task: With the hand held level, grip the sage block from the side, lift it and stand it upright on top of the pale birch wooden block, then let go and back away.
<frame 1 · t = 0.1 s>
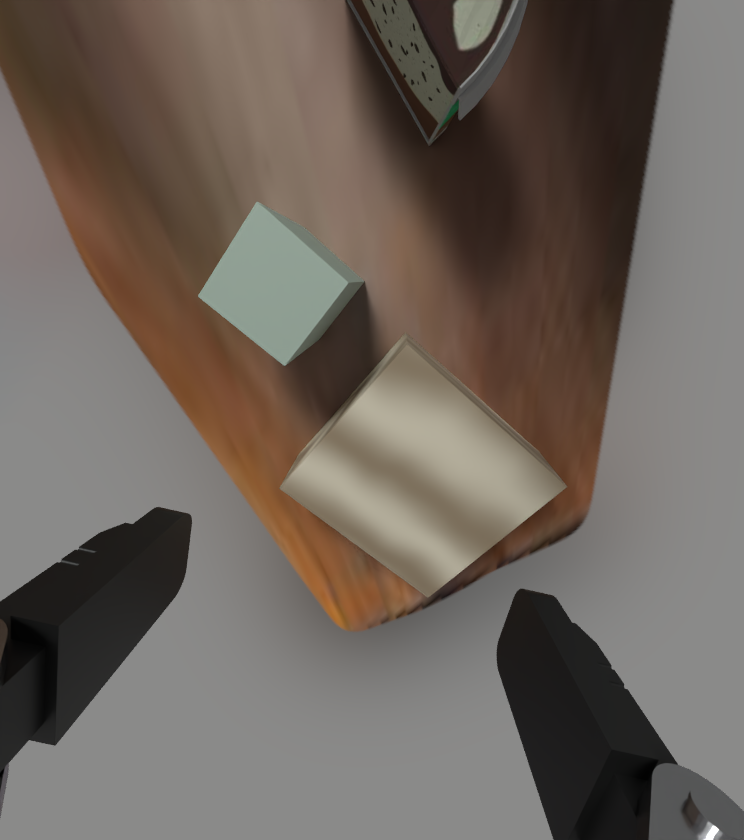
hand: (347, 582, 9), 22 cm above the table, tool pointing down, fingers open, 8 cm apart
sage block: (311, 286, 28), on the table
birch block: (415, 451, 33), on the table
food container: (430, 37, 23), on the table
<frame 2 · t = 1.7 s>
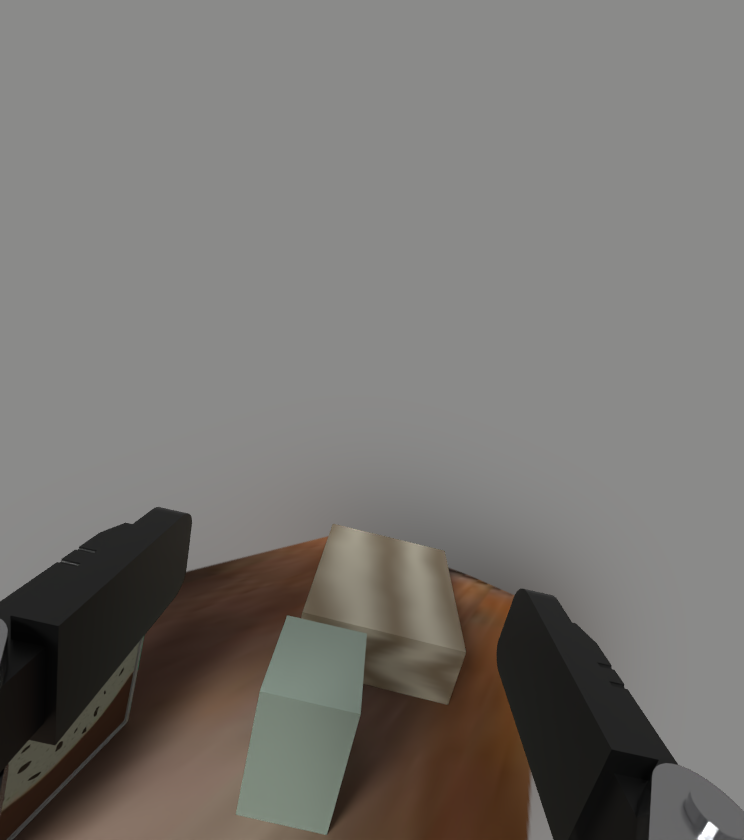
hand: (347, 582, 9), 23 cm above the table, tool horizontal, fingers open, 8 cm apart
sage block: (293, 771, 25), on the table
birch block: (373, 623, 40), on the table
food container: (16, 772, 22), on the table
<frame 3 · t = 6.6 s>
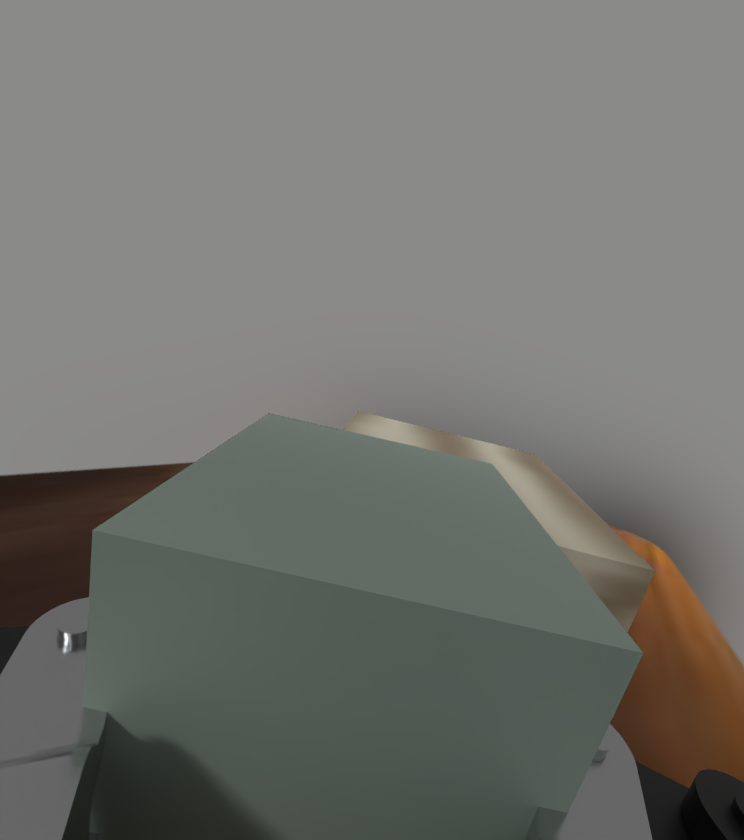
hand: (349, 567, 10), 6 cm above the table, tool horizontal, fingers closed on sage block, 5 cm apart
birch block: (428, 552, 23), on the table
when the fingers open (12 cm above the table, at t = 12.9 s): sage block stays where it is, resting on birch block.
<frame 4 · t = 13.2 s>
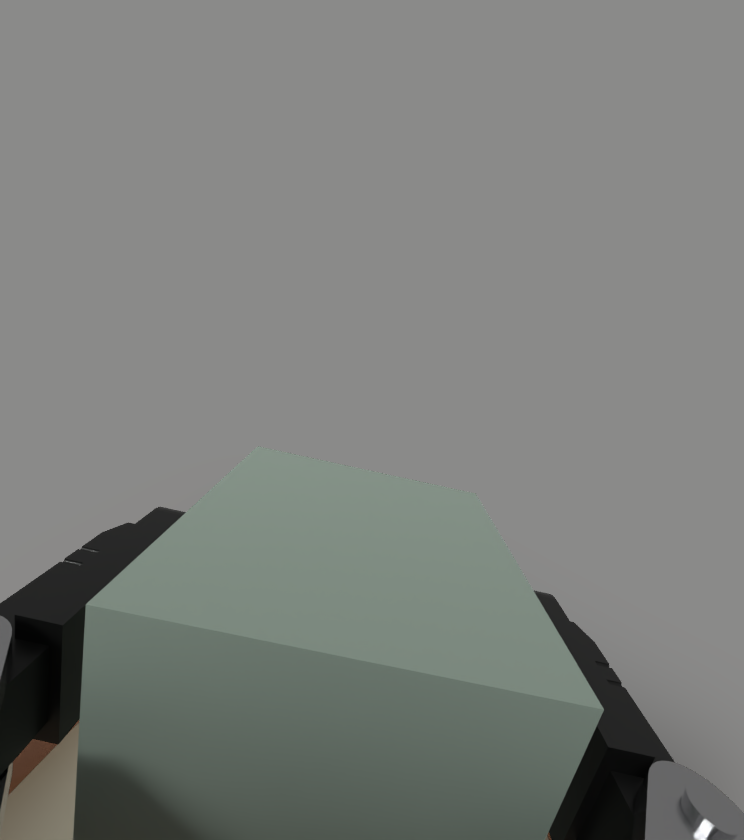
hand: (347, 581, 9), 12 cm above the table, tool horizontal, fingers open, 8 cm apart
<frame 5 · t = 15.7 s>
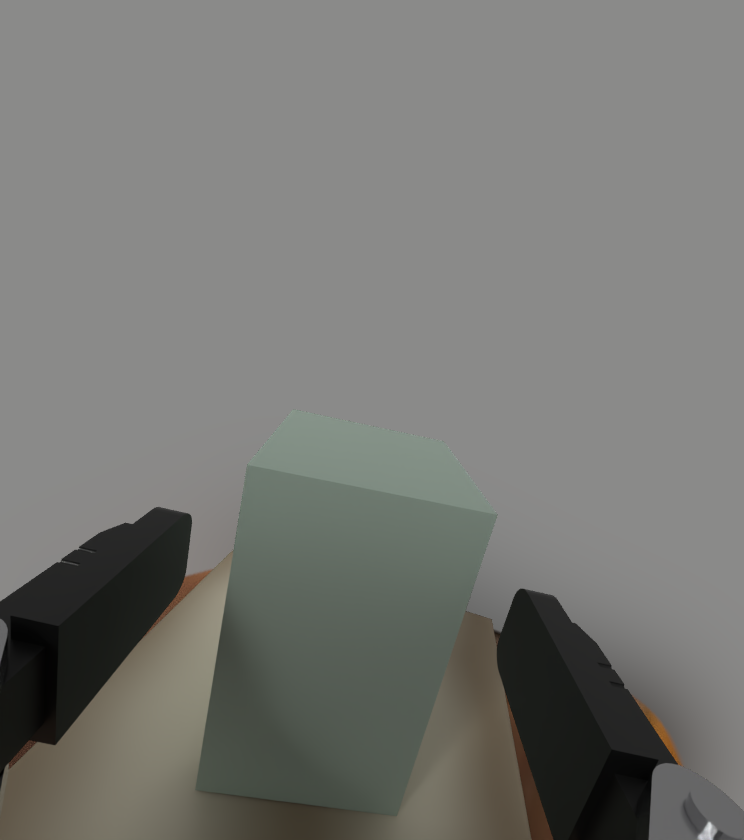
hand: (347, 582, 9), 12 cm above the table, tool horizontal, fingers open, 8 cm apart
sage block: (311, 704, 13), point 6 cm above the table, touching birch block
birch block: (288, 829, 14), on the table, touching sage block
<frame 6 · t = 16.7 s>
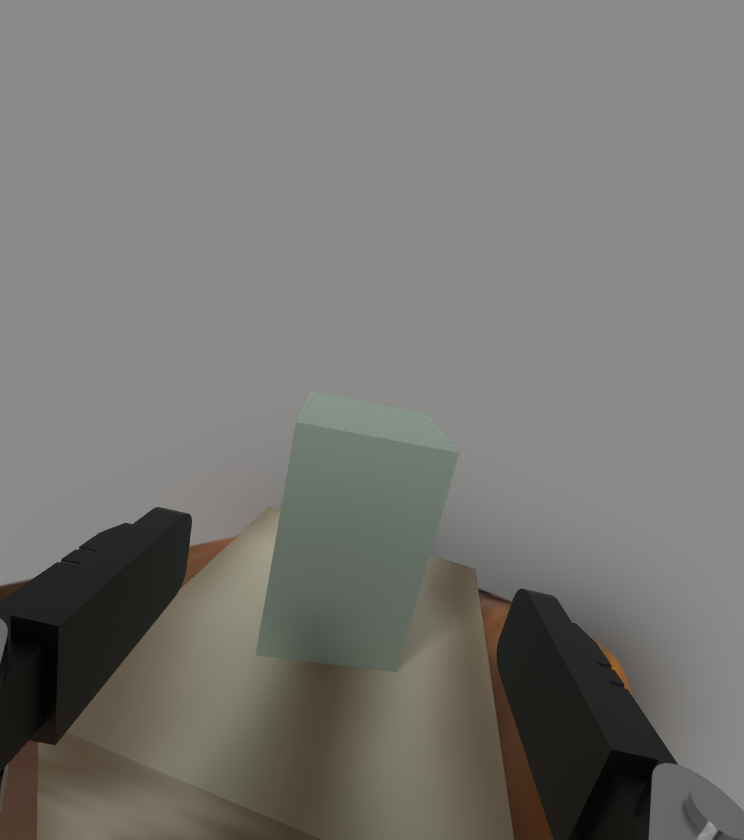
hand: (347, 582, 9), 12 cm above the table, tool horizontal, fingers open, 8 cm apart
sage block: (330, 610, 17), point 6 cm above the table, touching birch block
birch block: (313, 717, 19), on the table, touching sage block
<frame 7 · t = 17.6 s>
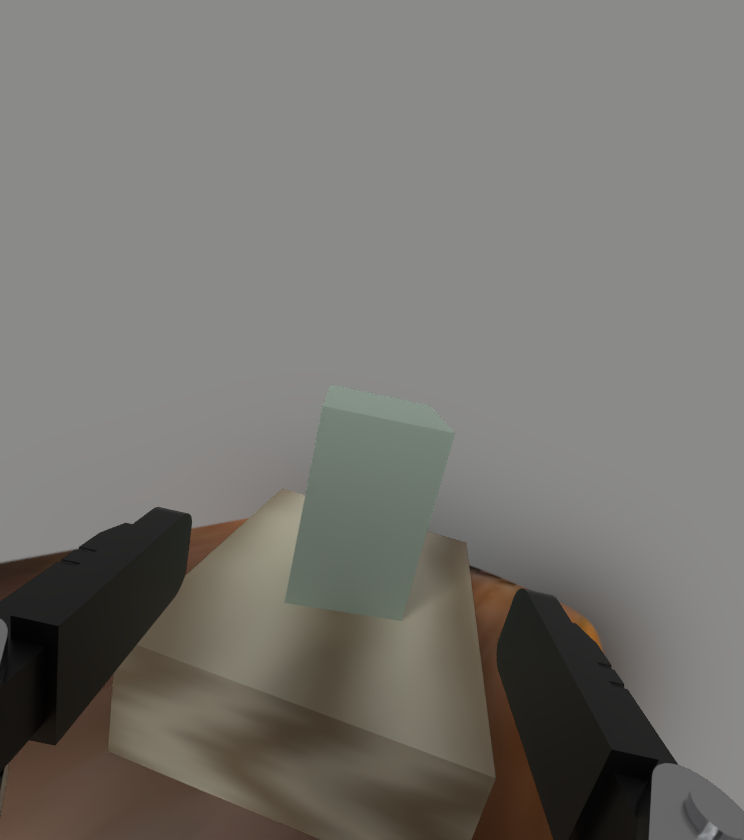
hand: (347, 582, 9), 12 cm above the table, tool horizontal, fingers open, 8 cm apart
sage block: (345, 573, 20), point 6 cm above the table, touching birch block
birch block: (325, 664, 22), on the table, touching sage block
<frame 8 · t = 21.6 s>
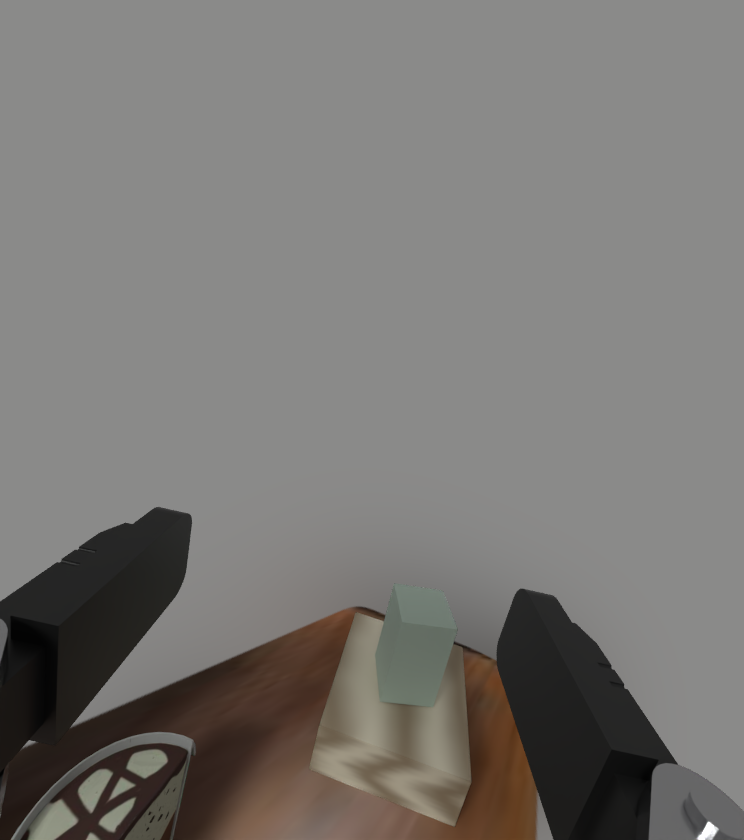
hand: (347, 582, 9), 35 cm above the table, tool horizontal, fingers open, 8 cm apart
sage block: (402, 679, 41), point 6 cm above the table
birch block: (389, 722, 42), on the table
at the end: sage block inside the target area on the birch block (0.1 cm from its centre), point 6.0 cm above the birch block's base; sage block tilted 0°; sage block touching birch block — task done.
